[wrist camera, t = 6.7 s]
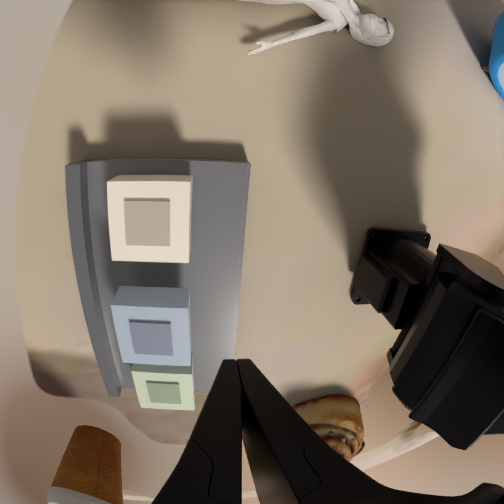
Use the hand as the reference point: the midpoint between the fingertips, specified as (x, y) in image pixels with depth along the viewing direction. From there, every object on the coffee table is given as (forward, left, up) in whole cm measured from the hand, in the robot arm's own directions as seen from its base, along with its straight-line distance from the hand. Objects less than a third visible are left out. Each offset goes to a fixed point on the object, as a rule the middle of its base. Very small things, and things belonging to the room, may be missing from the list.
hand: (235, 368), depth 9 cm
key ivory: (+4, -2, -10) cm, 11 cm away
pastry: (-12, +25, -12) cm, 31 cm away
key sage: (+4, +11, -10) cm, 16 cm away
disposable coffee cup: (+15, +27, -12) cm, 33 cm away
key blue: (+4, +5, -9) cm, 11 cm away
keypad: (+4, +5, -12) cm, 13 cm away
